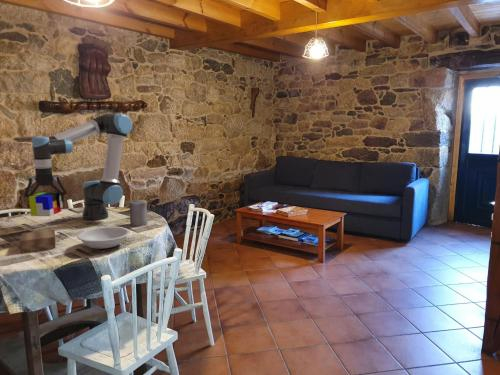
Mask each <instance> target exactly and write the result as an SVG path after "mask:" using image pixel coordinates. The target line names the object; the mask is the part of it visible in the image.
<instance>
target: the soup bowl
mask: <svg viewBox="0 0 500 375" xmlns="http://www.w3.org/2000/svg"><path fill="white" fill-rule="evenodd" d="M130 233H131V230H130V229H128V228H127V227H122V226H101V227H99V226H98V227H93V228H89V229H86V230H83V231H80V232H79V233H78V234H76V235H77V236H76V239H77V240H79V241H81V242H82V243H83V244H84V245H85V246H86V247H89V248H92V249H95V250H96V249H98V250H99V249H101V250H102V249H103V250H104V249H109V248H114V247H117V246H119V245H120V244H122V243H123V242H124V241H125V239H126V238H127V236H129V235H130Z"/></svg>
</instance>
